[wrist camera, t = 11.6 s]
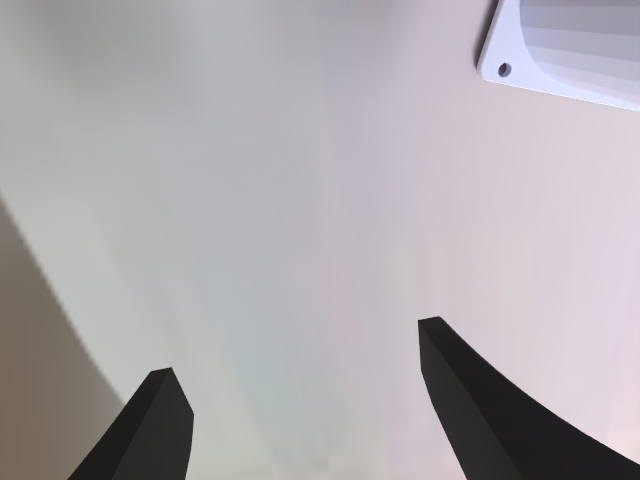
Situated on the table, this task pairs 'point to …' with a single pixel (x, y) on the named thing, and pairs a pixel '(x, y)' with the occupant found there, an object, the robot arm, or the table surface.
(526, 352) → the table surface
